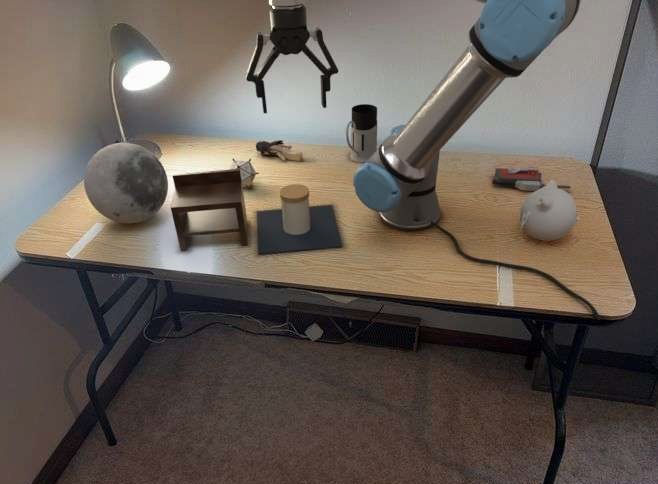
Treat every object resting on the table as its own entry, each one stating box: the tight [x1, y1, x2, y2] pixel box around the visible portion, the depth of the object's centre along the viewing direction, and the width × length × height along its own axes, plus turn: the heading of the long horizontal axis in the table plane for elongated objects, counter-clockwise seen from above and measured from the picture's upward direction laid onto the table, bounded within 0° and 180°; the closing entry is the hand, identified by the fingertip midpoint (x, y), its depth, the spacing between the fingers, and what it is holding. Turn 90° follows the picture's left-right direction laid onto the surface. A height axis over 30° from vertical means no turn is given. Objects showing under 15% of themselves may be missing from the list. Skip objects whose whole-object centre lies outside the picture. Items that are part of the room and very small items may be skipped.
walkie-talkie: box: [491, 166, 571, 192], centre depth 147 cm, size 9×4×20 cm
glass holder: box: [345, 103, 378, 164], centre depth 161 cm, size 9×14×15 cm, turn 146°
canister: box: [279, 183, 310, 235], centre depth 132 cm, size 7×7×10 cm
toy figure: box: [255, 139, 303, 162], centre depth 167 cm, size 7×6×15 cm
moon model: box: [83, 142, 169, 224], centre depth 136 cm, size 20×20×20 cm
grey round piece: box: [519, 179, 581, 242], centre depth 124 cm, size 15×13×12 cm
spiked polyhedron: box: [229, 158, 260, 190], centre depth 152 cm, size 9×8×10 cm
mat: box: [256, 204, 343, 256], centre depth 135 cm, size 20×20×1 cm
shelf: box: [170, 168, 249, 253], centre depth 129 cm, size 16×11×15 cm
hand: (294, 108), depth 123 cm, fingers open, 13 cm apart
